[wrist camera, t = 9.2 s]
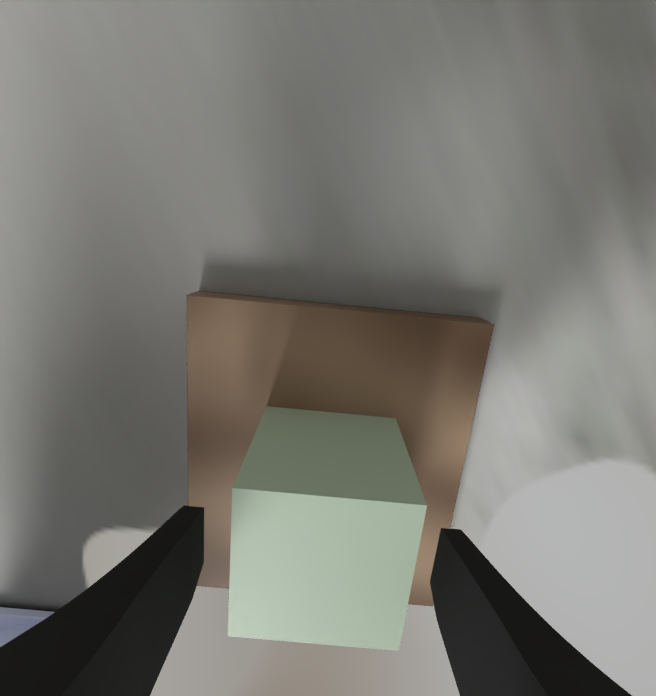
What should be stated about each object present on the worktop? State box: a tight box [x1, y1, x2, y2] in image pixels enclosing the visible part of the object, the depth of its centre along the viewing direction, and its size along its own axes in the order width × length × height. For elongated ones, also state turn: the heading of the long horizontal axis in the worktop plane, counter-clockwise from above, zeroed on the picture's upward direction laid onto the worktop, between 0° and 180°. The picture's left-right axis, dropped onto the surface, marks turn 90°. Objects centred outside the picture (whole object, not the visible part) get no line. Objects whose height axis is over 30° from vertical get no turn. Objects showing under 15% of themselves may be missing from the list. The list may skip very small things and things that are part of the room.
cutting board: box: [187, 291, 494, 606], centre depth 16 cm, size 13×11×1 cm
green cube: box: [228, 406, 427, 651], centre depth 13 cm, size 5×5×5 cm
